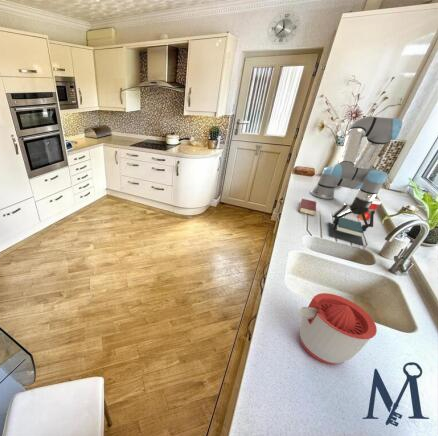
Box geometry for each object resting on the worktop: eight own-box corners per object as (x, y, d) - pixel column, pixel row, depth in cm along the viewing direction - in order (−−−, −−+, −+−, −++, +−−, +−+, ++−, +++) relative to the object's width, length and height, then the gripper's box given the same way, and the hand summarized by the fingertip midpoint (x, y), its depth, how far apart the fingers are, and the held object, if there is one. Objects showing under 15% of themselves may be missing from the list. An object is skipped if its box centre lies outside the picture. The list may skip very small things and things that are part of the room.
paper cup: (368, 217, 159) (379, 198, 152) (372, 222, 153) (383, 203, 146) (354, 214, 162) (364, 196, 154) (357, 219, 155) (368, 200, 148)
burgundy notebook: (300, 203, 174) (302, 198, 172) (314, 206, 170) (316, 201, 168) (298, 211, 162) (300, 206, 160) (313, 215, 158) (315, 210, 155)
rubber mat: (328, 223, 150) (328, 222, 149) (359, 231, 142) (359, 230, 142) (329, 235, 136) (329, 235, 136) (363, 245, 129) (363, 245, 129)
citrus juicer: (285, 317, 86) (305, 278, 76) (340, 335, 81) (370, 296, 71) (289, 357, 74) (315, 316, 64) (355, 381, 68) (394, 340, 58)
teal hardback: (335, 220, 145) (337, 216, 144) (358, 226, 140) (360, 222, 138) (336, 230, 135) (338, 226, 134) (361, 237, 130) (363, 233, 128)
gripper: (338, 195, 130) (322, 227, 141) (394, 207, 119) (372, 241, 131) (337, 191, 136) (322, 222, 147) (391, 202, 125) (370, 235, 136)
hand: (345, 231), depth 139 cm, fingers closed on teal hardback, 11 cm apart
